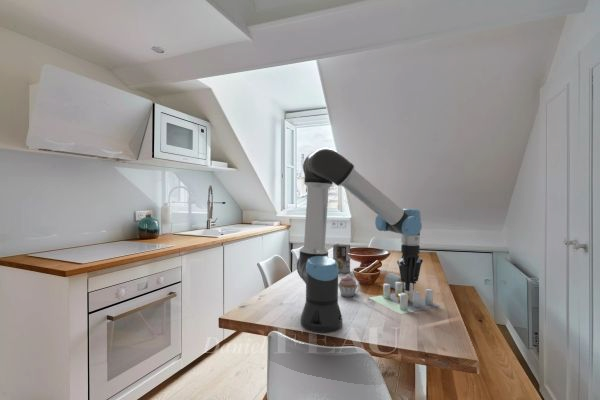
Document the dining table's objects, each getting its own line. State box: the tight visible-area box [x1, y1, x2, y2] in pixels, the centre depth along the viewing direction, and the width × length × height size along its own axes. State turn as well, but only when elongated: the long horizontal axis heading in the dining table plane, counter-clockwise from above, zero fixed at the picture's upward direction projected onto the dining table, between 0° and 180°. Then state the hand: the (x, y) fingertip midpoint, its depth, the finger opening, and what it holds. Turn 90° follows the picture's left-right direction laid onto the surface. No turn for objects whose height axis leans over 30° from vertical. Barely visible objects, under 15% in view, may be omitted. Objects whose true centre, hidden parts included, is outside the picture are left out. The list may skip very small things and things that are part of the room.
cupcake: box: [338, 273, 359, 298], centre depth 140 cm, size 9×9×10 cm
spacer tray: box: [368, 282, 441, 315], centre depth 129 cm, size 22×20×7 cm
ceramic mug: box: [384, 272, 405, 291], centre depth 150 cm, size 11×8×8 cm
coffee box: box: [332, 243, 351, 274], centre depth 183 cm, size 9×6×16 cm
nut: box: [398, 293, 410, 303], centre depth 129 cm, size 5×5×3 cm
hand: (409, 297), depth 131 cm, fingers closed
